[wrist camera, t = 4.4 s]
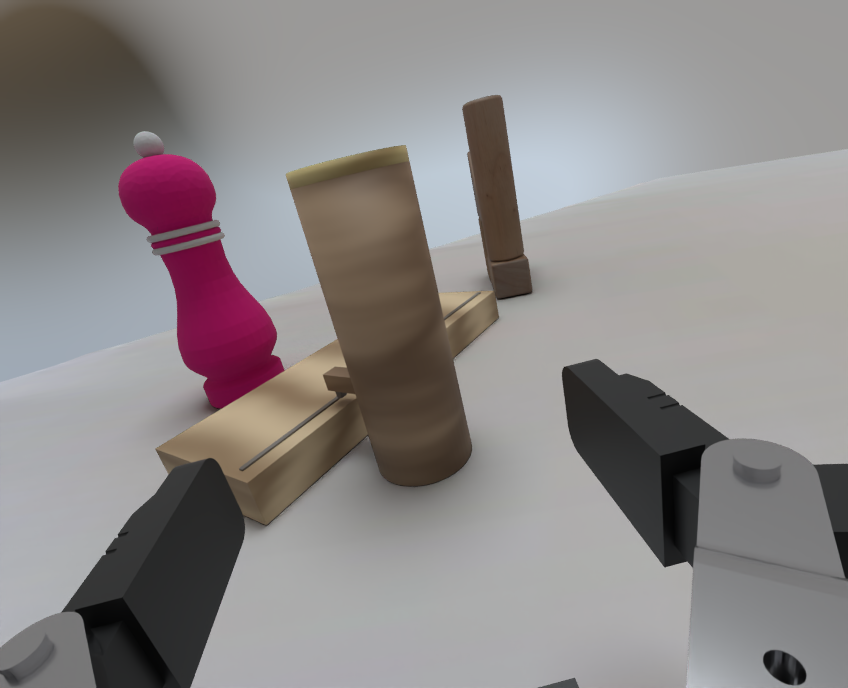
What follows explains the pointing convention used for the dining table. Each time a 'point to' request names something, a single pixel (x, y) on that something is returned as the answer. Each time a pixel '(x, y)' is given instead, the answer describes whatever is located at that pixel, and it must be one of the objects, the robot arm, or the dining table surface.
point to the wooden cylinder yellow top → (385, 311)
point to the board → (299, 421)
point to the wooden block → (496, 196)
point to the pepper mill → (199, 273)
